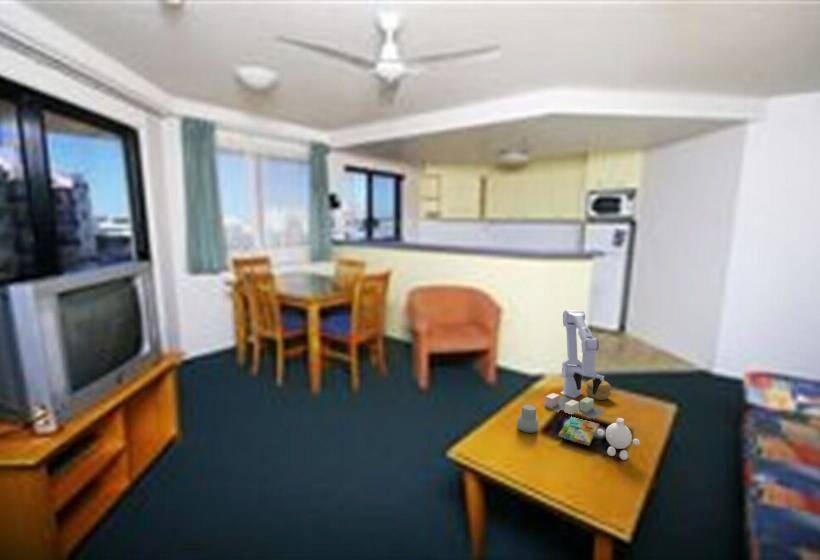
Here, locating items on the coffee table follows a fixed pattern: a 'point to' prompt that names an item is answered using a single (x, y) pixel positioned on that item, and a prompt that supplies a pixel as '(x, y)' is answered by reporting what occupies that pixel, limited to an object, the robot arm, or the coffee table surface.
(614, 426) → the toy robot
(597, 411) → the mat
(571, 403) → the cream brick
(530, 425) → the air freshener
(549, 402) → the rose brick
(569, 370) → the robot arm
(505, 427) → the coffee table surface
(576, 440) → the puzzle game
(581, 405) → the sage brick
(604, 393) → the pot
